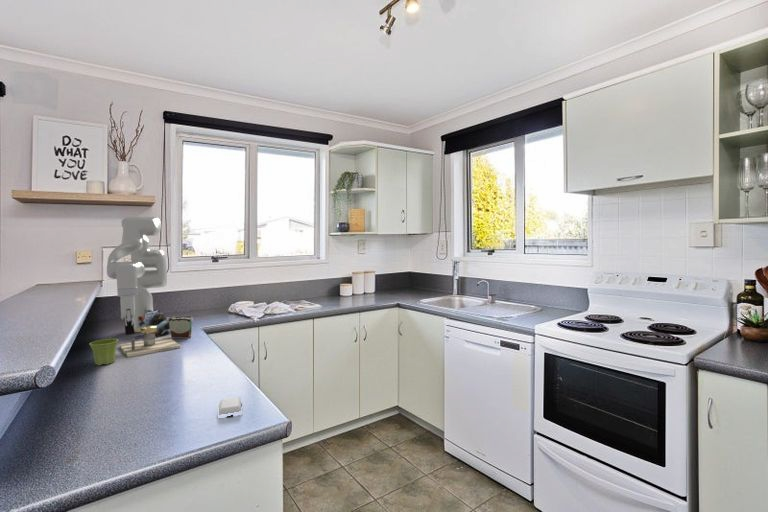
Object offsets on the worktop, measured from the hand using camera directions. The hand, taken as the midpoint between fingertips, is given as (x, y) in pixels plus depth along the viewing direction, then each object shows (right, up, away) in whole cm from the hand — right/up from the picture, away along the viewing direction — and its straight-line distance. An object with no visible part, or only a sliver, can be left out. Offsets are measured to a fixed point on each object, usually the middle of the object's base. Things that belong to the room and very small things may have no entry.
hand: (129, 332), depth 178 cm
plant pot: (+2, -9, -18) cm, 20 cm away
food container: (+12, -6, +23) cm, 27 cm away
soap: (+68, -11, -63) cm, 93 cm away
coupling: (+4, 0, +2) cm, 4 cm away
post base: (+7, -7, +3) cm, 10 cm away
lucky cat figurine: (-4, -6, +29) cm, 30 cm away
